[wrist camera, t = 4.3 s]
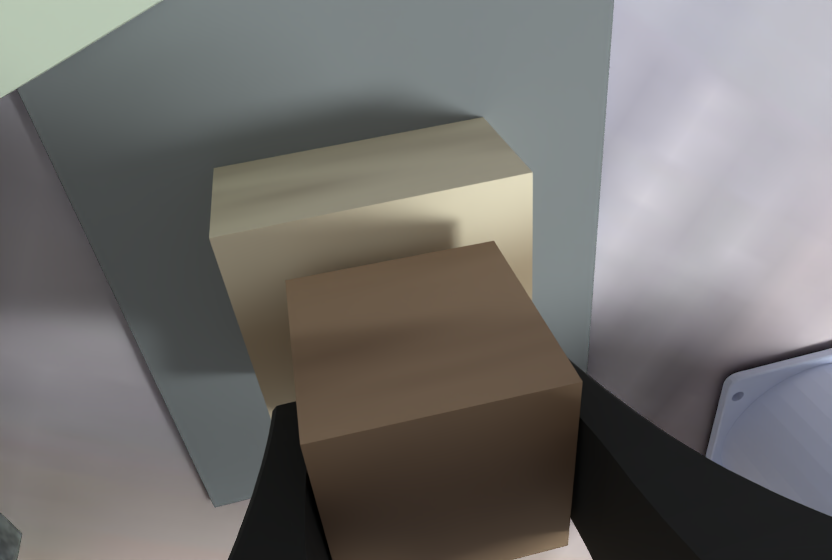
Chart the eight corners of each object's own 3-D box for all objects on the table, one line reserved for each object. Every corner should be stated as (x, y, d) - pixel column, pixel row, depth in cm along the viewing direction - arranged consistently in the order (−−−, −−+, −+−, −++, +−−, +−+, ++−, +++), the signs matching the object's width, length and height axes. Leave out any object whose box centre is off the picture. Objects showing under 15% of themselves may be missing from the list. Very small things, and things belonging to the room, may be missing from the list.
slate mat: (580, 407, 25) (583, 412, 24) (214, 500, 23) (214, 507, 23) (618, -152, 14) (624, -152, 14) (-47, -60, 13) (-53, -59, 12)
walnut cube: (496, 390, 16) (567, 545, 13) (321, 429, 16) (344, 603, 12) (493, 240, 14) (582, 382, 10) (285, 280, 13) (300, 445, 10)
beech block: (491, 322, 21) (531, 397, 18) (277, 372, 20) (284, 459, 17) (483, 117, 17) (532, 172, 14) (213, 168, 16) (208, 237, 13)
